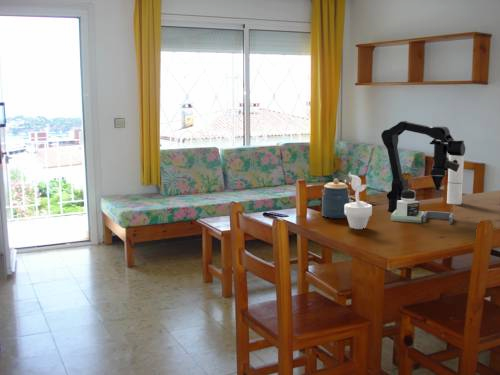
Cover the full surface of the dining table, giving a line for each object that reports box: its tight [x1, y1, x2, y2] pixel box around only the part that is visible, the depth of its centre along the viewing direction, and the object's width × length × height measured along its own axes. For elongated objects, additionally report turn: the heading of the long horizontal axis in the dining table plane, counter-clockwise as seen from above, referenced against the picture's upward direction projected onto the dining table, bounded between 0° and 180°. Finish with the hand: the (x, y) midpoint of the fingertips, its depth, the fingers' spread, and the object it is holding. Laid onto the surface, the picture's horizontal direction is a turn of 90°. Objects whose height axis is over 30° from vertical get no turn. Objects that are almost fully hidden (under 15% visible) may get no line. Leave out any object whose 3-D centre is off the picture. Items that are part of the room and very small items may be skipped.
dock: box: [422, 210, 454, 225], centre depth 265 cm, size 12×11×3 cm
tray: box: [390, 210, 425, 224], centre depth 269 cm, size 13×13×2 cm
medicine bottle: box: [397, 189, 420, 217], centre depth 269 cm, size 7×7×12 cm
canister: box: [321, 178, 351, 219], centre depth 275 cm, size 13×13×18 cm
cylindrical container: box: [446, 154, 465, 205], centre depth 303 cm, size 7×7×25 cm
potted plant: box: [344, 172, 373, 230], centre depth 250 cm, size 13×12×25 cm
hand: (438, 188), depth 272 cm, fingers open, 9 cm apart
